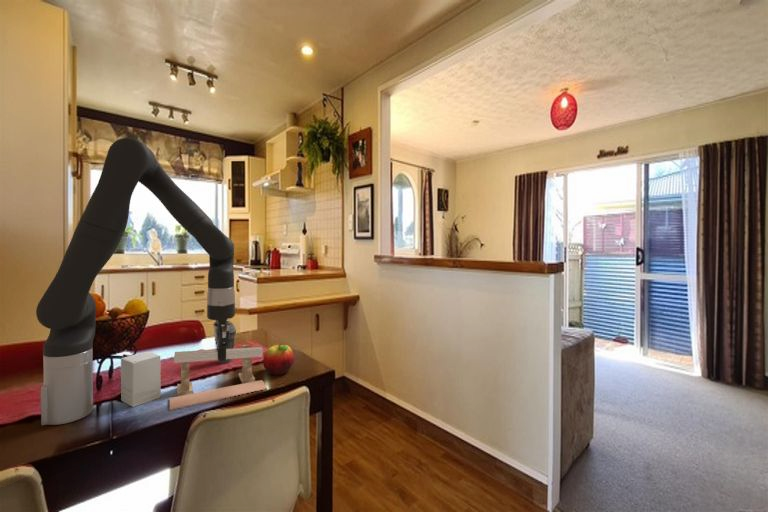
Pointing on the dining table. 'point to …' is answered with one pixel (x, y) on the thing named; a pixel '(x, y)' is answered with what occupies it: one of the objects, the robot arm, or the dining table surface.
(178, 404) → the terracotta board
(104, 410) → the dining table surface
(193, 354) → the pale grey long bar
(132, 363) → the supplement box
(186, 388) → the left stand
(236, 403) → the dining table surface
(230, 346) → the beverage cup
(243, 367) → the right stand
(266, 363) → the fruit
